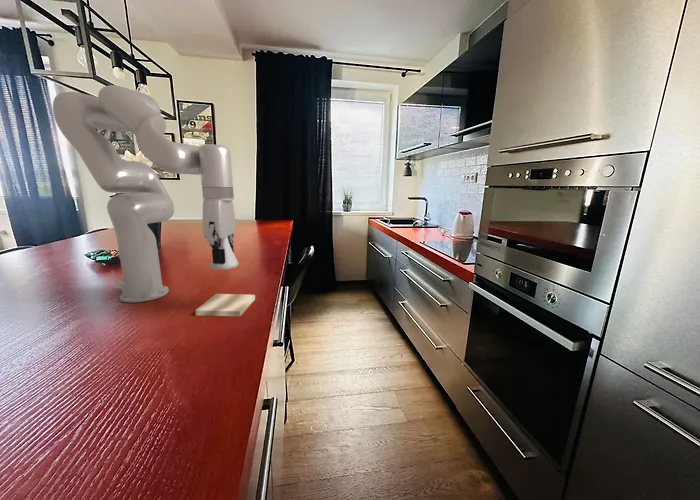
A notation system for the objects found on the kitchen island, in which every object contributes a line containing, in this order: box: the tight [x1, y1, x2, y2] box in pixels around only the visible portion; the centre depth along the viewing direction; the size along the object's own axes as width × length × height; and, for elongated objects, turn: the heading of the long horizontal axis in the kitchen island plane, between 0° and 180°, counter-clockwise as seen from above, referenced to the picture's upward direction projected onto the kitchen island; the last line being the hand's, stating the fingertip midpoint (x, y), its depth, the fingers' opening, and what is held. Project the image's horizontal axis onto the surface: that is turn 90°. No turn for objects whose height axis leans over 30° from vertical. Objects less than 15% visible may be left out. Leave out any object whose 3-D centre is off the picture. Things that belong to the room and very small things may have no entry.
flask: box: [209, 235, 240, 270], centre depth 81 cm, size 7×7×10 cm
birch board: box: [195, 293, 256, 318], centre depth 85 cm, size 12×12×2 cm
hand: (224, 260), depth 82 cm, fingers closed on flask, 4 cm apart
